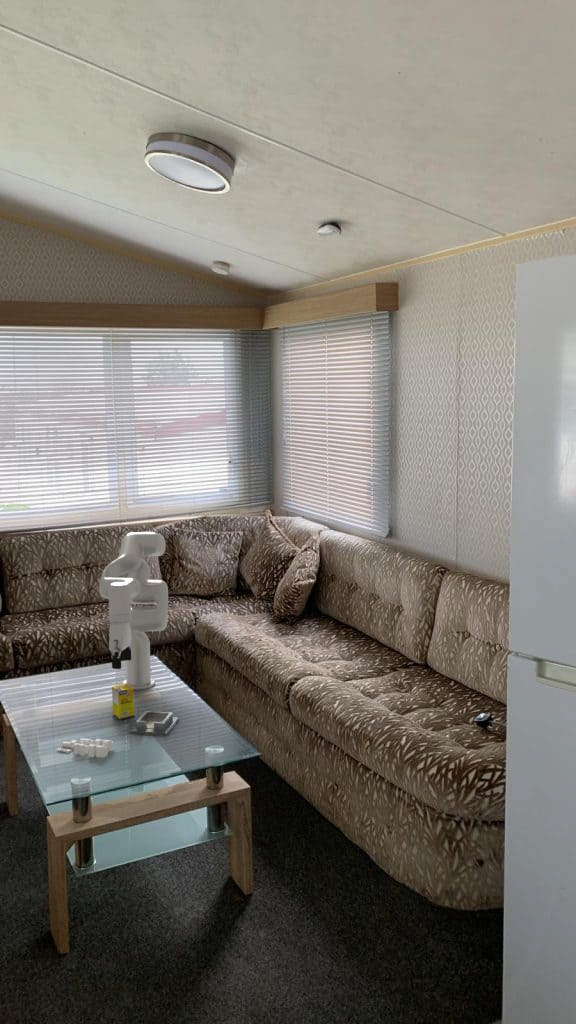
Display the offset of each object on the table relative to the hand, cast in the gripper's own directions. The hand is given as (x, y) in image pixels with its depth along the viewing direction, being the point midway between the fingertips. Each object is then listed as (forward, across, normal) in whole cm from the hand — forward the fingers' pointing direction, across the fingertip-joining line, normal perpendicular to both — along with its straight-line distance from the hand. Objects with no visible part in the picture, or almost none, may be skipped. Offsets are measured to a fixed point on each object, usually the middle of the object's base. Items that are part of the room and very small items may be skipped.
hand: (121, 664), depth 302 cm
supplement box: (+20, 0, 0) cm, 20 cm away
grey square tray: (+20, +7, +14) cm, 25 cm away
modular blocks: (+20, +30, -2) cm, 36 cm away
